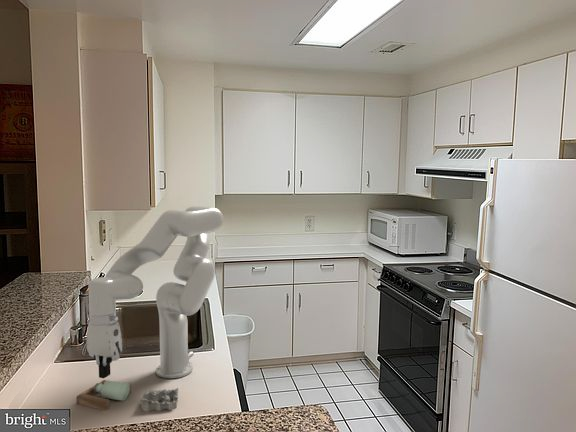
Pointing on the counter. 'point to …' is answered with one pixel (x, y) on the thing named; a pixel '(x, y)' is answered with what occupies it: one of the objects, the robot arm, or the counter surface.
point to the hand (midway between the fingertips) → (104, 376)
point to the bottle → (113, 390)
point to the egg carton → (157, 396)
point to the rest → (93, 399)
